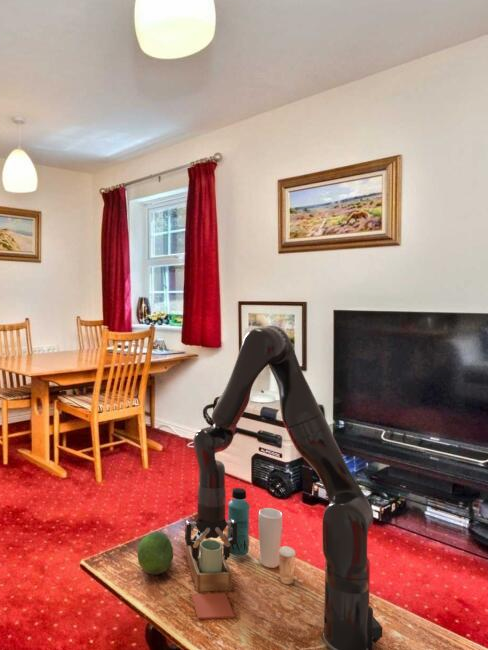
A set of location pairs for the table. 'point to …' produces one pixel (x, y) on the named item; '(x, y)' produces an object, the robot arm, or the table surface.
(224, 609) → the coaster mat
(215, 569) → the cup
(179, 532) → the table surface
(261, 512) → the drinking glass
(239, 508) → the beverage bottle
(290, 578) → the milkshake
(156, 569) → the fruit
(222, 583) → the brown wooden shelf
